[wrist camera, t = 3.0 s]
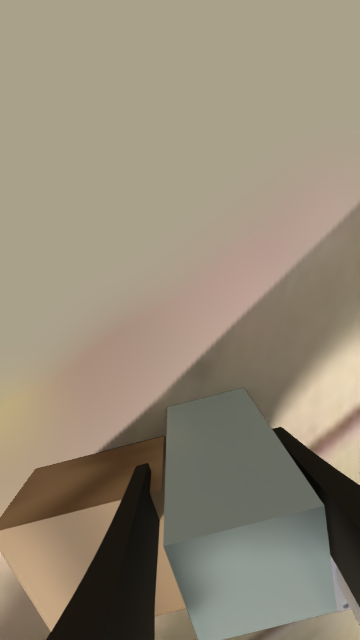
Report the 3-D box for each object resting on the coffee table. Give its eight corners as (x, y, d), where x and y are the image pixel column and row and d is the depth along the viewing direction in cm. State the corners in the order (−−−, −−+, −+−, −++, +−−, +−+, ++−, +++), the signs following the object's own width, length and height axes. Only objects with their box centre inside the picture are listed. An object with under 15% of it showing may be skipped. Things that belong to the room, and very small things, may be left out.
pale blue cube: (243, 387, 11) (324, 505, 5) (256, 450, 12) (336, 611, 6) (167, 406, 11) (163, 546, 5) (186, 468, 12) (200, 645, 6)
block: (163, 436, 11) (161, 489, 9) (194, 532, 13) (201, 604, 10) (35, 468, 11) (-12, 533, 9) (81, 560, 13) (56, 641, 10)
